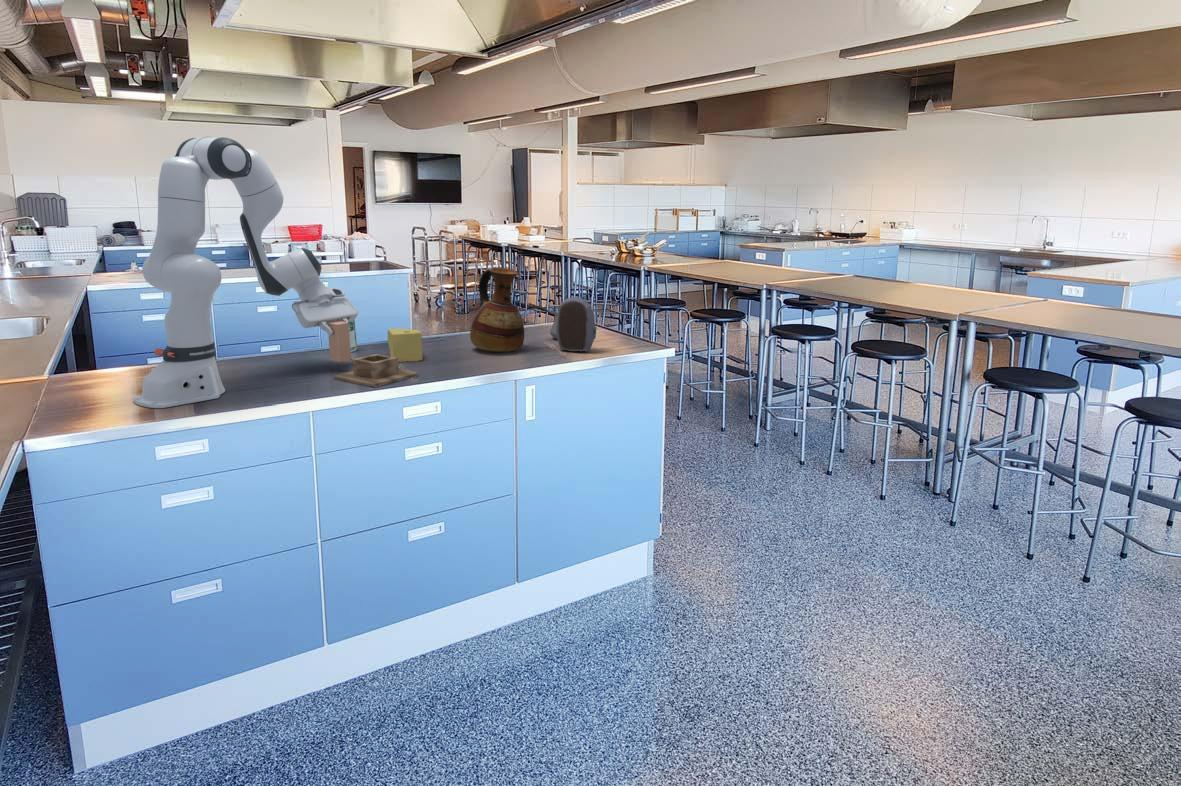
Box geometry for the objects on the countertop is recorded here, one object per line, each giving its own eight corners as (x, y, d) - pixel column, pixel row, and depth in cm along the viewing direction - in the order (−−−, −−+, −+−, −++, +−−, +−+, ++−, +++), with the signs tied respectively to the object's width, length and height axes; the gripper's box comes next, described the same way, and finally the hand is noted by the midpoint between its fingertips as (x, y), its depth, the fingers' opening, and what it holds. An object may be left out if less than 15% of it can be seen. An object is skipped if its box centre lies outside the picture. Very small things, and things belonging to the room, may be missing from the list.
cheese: (418, 354, 261) (417, 326, 258) (423, 361, 251) (422, 332, 249) (388, 356, 257) (387, 328, 255) (392, 363, 248) (390, 334, 245)
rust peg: (339, 362, 233) (337, 324, 230) (330, 360, 235) (327, 323, 232) (351, 359, 236) (348, 322, 233) (341, 357, 239) (339, 321, 236)
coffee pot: (571, 335, 300) (572, 298, 296) (583, 340, 290) (583, 302, 286) (522, 338, 292) (521, 301, 288) (532, 344, 282) (532, 305, 278)
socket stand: (374, 387, 217) (373, 367, 215) (333, 379, 226) (331, 359, 224) (418, 375, 231) (417, 357, 230) (378, 368, 240) (377, 350, 239)
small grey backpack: (553, 351, 270) (553, 296, 265) (561, 347, 277) (561, 293, 272) (592, 354, 265) (593, 299, 260) (599, 350, 273) (600, 296, 268)
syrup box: (349, 353, 261) (346, 312, 257) (334, 352, 262) (330, 312, 258) (357, 350, 266) (354, 310, 263) (342, 349, 268) (339, 309, 264)
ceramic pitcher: (502, 358, 257) (501, 271, 250) (458, 351, 268) (456, 268, 260) (535, 348, 274) (535, 267, 266) (493, 342, 284) (491, 263, 276)
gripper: (293, 296, 225) (316, 331, 223) (346, 289, 242) (369, 322, 240) (285, 309, 229) (308, 344, 226) (338, 302, 245) (360, 334, 243)
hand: (340, 332), depth 233 cm, fingers closed on rust peg, 4 cm apart
